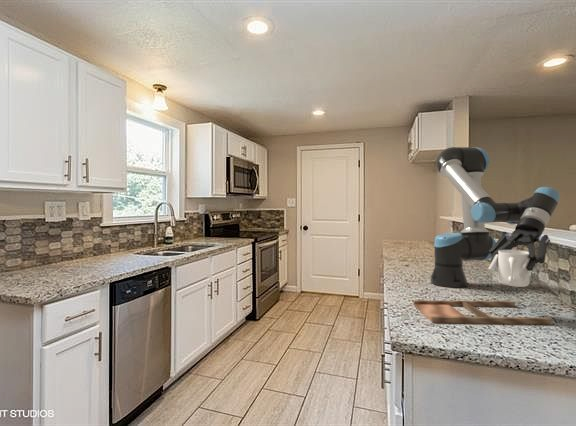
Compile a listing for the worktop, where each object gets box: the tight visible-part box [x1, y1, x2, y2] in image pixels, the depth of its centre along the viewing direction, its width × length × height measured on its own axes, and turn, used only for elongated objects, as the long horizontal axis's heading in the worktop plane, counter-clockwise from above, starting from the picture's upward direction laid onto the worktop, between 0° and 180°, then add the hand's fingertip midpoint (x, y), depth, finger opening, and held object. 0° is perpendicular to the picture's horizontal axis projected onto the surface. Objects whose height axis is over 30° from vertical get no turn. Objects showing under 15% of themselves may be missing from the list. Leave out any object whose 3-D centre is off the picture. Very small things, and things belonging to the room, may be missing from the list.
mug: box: [497, 249, 531, 288], centre depth 104 cm, size 9×12×11 cm
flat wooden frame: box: [412, 299, 553, 325], centre depth 105 cm, size 35×18×2 cm, turn 85°
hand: (505, 274), depth 103 cm, fingers closed on mug, 9 cm apart
